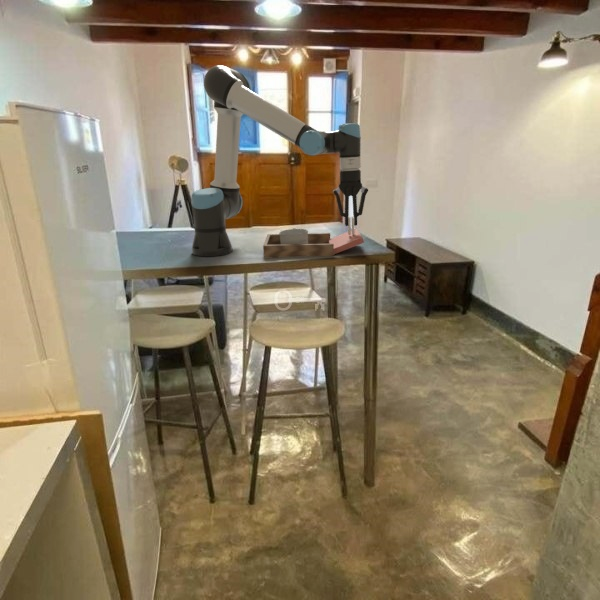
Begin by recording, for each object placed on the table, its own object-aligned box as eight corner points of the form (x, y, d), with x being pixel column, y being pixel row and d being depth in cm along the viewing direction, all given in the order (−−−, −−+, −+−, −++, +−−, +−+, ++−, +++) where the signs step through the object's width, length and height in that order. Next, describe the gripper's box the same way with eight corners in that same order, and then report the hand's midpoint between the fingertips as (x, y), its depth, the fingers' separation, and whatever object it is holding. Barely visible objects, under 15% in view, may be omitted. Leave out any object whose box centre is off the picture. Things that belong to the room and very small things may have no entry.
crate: (263, 257, 153) (263, 245, 151) (268, 245, 172) (267, 234, 170) (333, 256, 152) (333, 244, 151) (329, 243, 171) (330, 233, 170)
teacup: (305, 255, 155) (305, 234, 152) (276, 254, 157) (276, 233, 154) (311, 246, 167) (311, 226, 165) (285, 246, 169) (284, 226, 167)
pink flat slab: (331, 249, 153) (362, 237, 151) (328, 239, 169) (356, 228, 168) (333, 254, 154) (364, 242, 152) (330, 244, 170) (358, 232, 168)
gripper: (331, 171, 148) (333, 237, 156) (370, 169, 148) (370, 235, 156) (330, 170, 155) (332, 233, 163) (367, 168, 155) (367, 231, 163)
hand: (351, 234), depth 160 cm, fingers closed
